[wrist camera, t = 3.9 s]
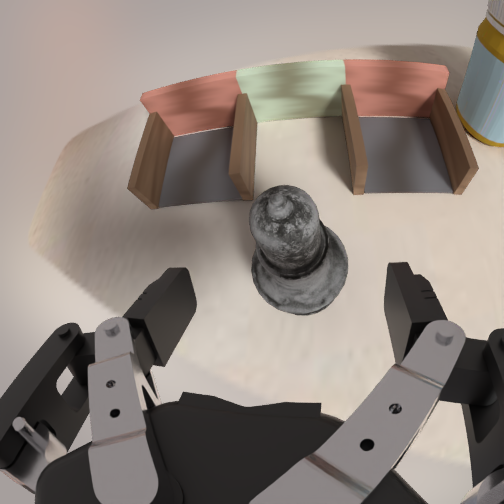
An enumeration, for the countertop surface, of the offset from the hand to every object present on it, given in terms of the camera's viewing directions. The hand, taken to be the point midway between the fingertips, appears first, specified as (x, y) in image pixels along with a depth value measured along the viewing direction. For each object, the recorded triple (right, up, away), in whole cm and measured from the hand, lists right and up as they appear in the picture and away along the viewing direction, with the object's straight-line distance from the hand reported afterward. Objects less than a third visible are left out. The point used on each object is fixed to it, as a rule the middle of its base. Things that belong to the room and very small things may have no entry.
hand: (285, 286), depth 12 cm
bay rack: (+3, +10, +13) cm, 17 cm away
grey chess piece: (+2, -1, +10) cm, 10 cm away
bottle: (+22, +14, +10) cm, 28 cm away
